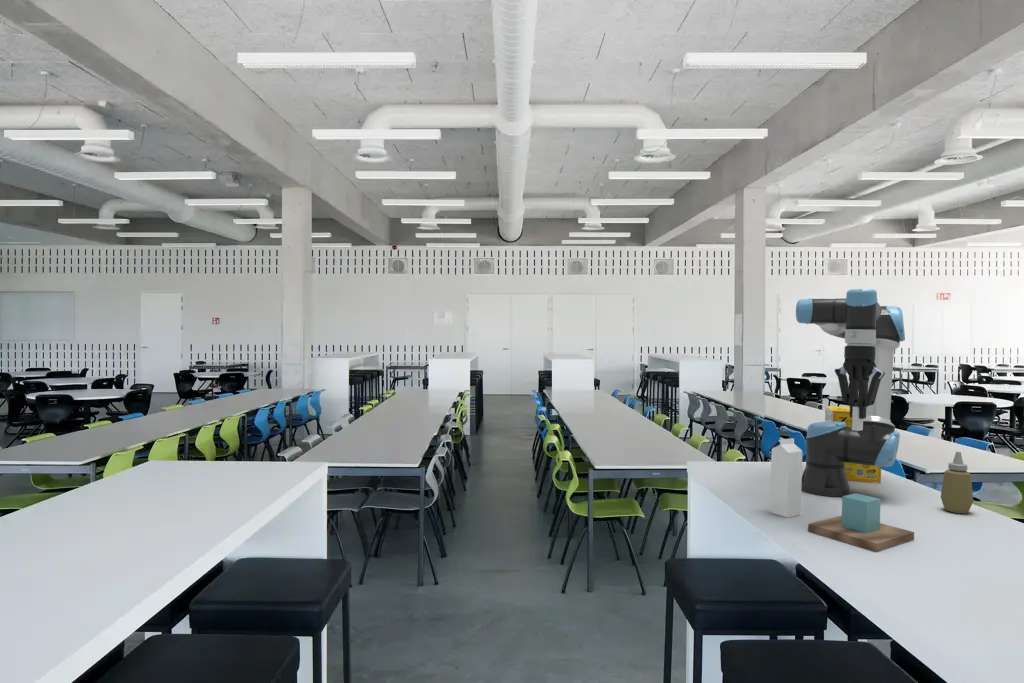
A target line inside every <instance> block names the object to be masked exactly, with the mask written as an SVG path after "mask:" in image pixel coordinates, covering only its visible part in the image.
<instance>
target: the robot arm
mask: <svg viewBox="0 0 1024 683" xmlns="http://www.w3.org/2000/svg"><path fill="white" fill-rule="evenodd" d="M795 318H796V321H797V323H799V324H806V325H809V324H813V325H817V326H818V327H820V329H821V330H822V331H823V332H824V333H826V334H828V335H830V336H833V337H837V338H840V339H844V343H845V344H847V345H845V346H844V352H843V353H844V354H843V356H844V362H843V364H842V366H841V367H840V368H834V373H835V375H836V376H837V379H838V385H839V388H840V393H841V399H842V402H843V404H846V405H848V407H850V417H851V418H852V427H846V423H845V422H825V421H819V422H812V423H810V424H809V425H808V426H807V430H806V431H807V432H806V437H805V438H806V453H805V454H806V455H805V456H806V459H805V467H804V470H803V473H802V483H801V491H802V492H803V491H804V492H806V493H809V494H812V495H813V494H814V495H818V496H826V497H842V496H846V495H850V494H851V491H850V490H851V487H850V483H849V481H848V480H847V477H846V473H845V469H844V467H845V462H847V463H855V464H863V465H871V466H875V467H878V466H879V467H881V468H889V467H892V466H894V463H895V462H896V458H897V454H898V450H899V443H900V440H901V439H900V438H901V434H900V432H899V431H897V430H896V426H895V425H894V423H892V421H891V404H892V390H893V389H892V388H893V387H892V386H893V374H894V373H893V371H894V369H893V368H894V355H895V353H894V352H895V351H896V349H898V348H900V344H901V342H904V341H905V340H906V337H905V336H906V334H905V325H904V316H903V311H902V308H901V307H899V306H895V305H894V306H893V305H890V306H889V305H880V304H879V302H878V293H877V290H875V289H873V288H855V289H849V290H847V291H846V296H845V298H843V297H842V298H801V299H798V300H797V302H796V306H795ZM847 374H848V376H847Z"/></svg>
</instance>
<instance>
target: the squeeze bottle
mask: <svg viewBox="0 0 1024 683" xmlns="http://www.w3.org/2000/svg"><path fill="white" fill-rule="evenodd" d="M947 468H948V469H946V470H944V473H943V479H942V486H941V491H940V500H941V502H942V506H943V509H944V510H945V511H947V512H949V511H950V513H953V512H954V514H960V513H962V514H963V515H964V514H968V513H969V512H970V509H972V508H971V507H972V506H973V503H974V495H973V493H974V492H973V484H972V483H973V482H972V474H971V473H970V472H969V471H968V465H967V464H965V463H964V461H963V456H962V452H960V451H955V453H954V457H953V460H952V462H948V465H947Z"/></svg>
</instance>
